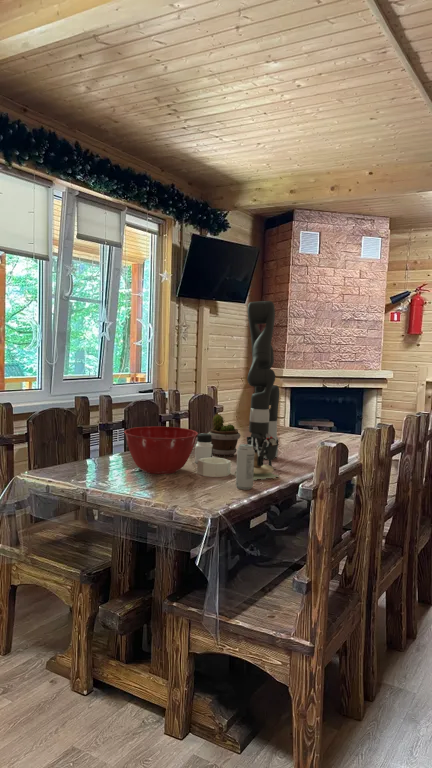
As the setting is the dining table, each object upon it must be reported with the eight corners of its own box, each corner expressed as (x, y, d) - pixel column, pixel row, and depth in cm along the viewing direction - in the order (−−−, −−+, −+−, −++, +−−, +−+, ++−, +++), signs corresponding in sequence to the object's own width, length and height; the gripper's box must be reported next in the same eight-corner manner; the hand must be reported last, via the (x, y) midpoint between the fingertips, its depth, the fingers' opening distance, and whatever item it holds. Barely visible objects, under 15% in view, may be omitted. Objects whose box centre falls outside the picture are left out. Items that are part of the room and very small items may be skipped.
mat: (261, 471, 221) (261, 469, 221) (278, 478, 210) (278, 475, 210) (235, 473, 215) (235, 471, 215) (252, 480, 205) (252, 478, 205)
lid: (261, 465, 221) (262, 449, 221) (280, 472, 210) (281, 455, 210) (233, 467, 215) (234, 450, 215) (251, 474, 204) (252, 456, 203)
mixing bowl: (186, 481, 198) (187, 439, 197) (111, 474, 204) (112, 433, 203) (203, 466, 226) (205, 429, 225) (137, 461, 231) (138, 424, 231)
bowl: (219, 469, 222) (220, 456, 222) (234, 475, 212) (235, 462, 211) (193, 471, 216) (193, 458, 216) (207, 477, 206) (207, 464, 205)
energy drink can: (242, 484, 197) (244, 443, 196) (256, 488, 193) (258, 445, 192) (232, 487, 192) (234, 444, 191) (246, 490, 188) (248, 447, 187)
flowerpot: (245, 455, 256) (247, 412, 255) (228, 459, 243) (230, 414, 242) (218, 450, 264) (220, 409, 263) (200, 455, 251) (202, 411, 250)
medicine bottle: (211, 463, 233) (212, 435, 232) (194, 462, 233) (195, 434, 232) (212, 460, 240) (213, 433, 239) (195, 459, 240) (196, 432, 239)
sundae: (259, 468, 226) (261, 432, 226) (265, 466, 232) (267, 430, 232) (274, 470, 223) (276, 434, 222) (280, 468, 229) (282, 432, 228)
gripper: (278, 422, 207) (275, 467, 208) (257, 418, 220) (255, 460, 221) (261, 423, 204) (259, 469, 205) (241, 418, 216) (239, 461, 217)
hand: (257, 464), depth 213 cm, fingers open, 3 cm apart
